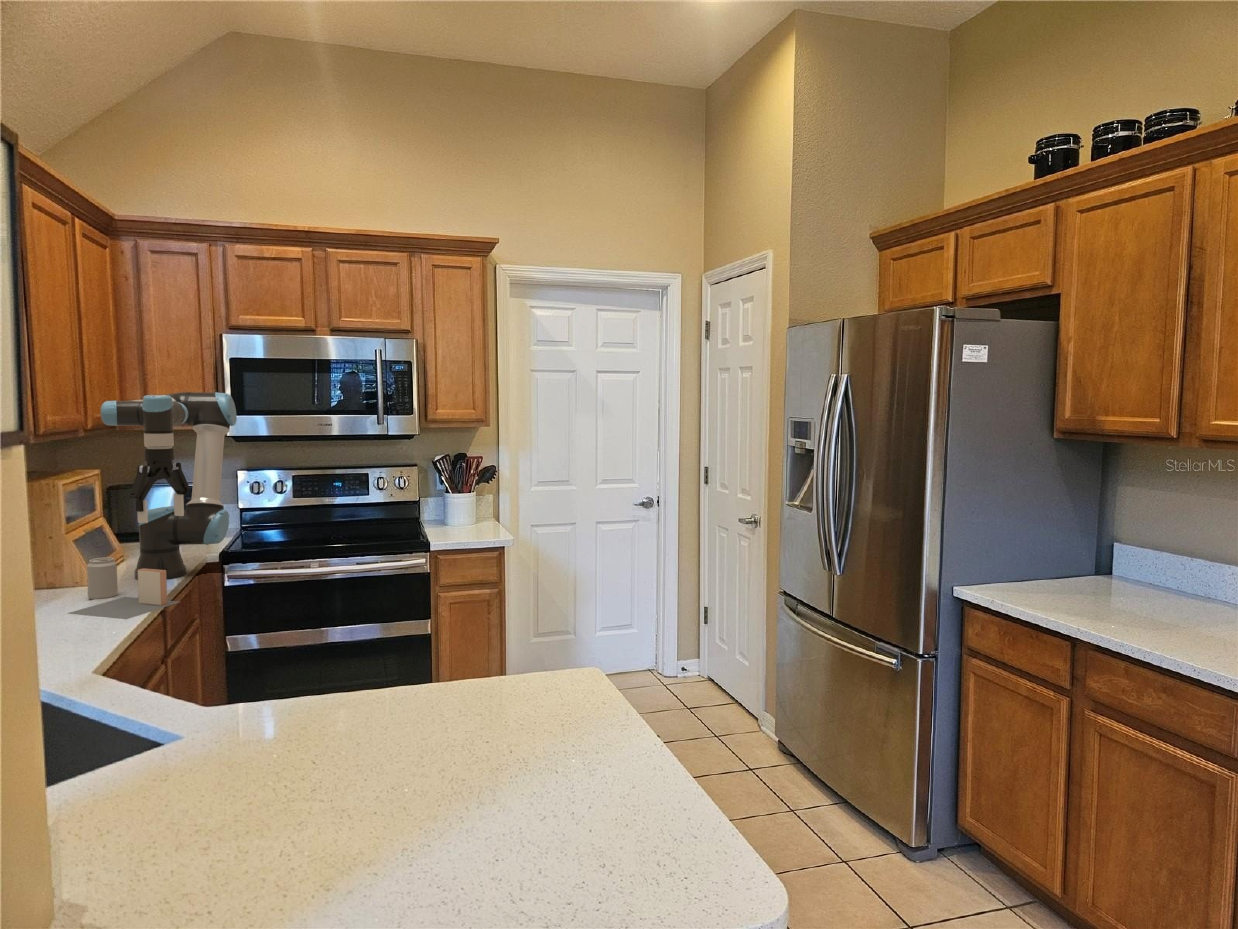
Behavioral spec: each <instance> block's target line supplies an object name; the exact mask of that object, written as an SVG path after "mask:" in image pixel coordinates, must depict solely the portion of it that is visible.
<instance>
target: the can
mask: <svg viewBox="0 0 1238 929" xmlns="http://www.w3.org/2000/svg"><path fill="white" fill-rule="evenodd" d="M88 562H89V563H88V564H87V565H86V580H87V597H88V598H89V599H90V600H92V601H94V600H100V599H109V598H113V597H116V596H117V595H118V594H119V590H118V567H117V566H118V564H117V562H116V561H115V558H114V557H110V556H109V557H107V556H106V557H96V558H91V559H89V560H88Z"/></svg>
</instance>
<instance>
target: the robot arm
mask: <svg viewBox="0 0 1238 929" xmlns="http://www.w3.org/2000/svg"><path fill="white" fill-rule="evenodd" d="M100 418H101V422H102V423H103V424H105V426H115V427H135V426H136V427H143V444H144V445H143V446H144V447H145V448H144V449H143V450H144V452H143V453H144V461H145V462H146V465H138V466H137V468H136V476H135V478H134V481H133V484H132V487H131V489H130V492H129V495H128V498H129V499H130V500H132V501H135V510H136V512H137V523H138V525H137V526H138V534H139V536H138V537H139V538H138V540H139V557H138V560H137V564H136V568H135V570H134V579H136V580H138V570H139V569H143V568H145V569H158V570H166V580H168V579H175V578H179V577H183V576H184V575H186V574H187V565H186V564H185V563H184V560H183V556H182V554H181V551H180V549H181V547H180V546H181V545H182V546H184V545H185V546H186V545H189V546H190V545H193V546H194V545H206V546H209V545H217V544H220V543H221V542H223V540H224V539H225V538H226V536H227V533H228V530H229V525H230V514H229V512H228V510H226V509H225V508H224V507H225V506H224V504H223V503H222V502H221V500H220V497H221V484H222V474H223V472H222V471H223V469H222V468H223V459H224V445H225V436H226V435H227V434H228V433H230V431H231V430H230V428H231V427H233V426H235V425H236V424H237V409H236V404H235V401H234V399H233V397H232V395H231V394H229V393H226V392H217V391H215V392H203V391H202V392H197V391H195V392H192V391H182V392H174V393H173V392H172V393H168V394H161V395H160V394H158V395H155V394H152V395H151V394H148V395H144V396H143V397H142V399H134V400H106V401H104V402H103V403H102V404H101V407H100ZM181 425H185V426H192V430H193V431H194V432H195V433H196V442H195V444H196V445H195V453H194V454H195V456H194V464H193V465H194V467H193V478H192V479H193V480H192V492H191V499H190V500H189V501H188V502H187V503H186V502H185V495H187V494H188V493H189V492H190V491H191V488H190V486H189V483H188V481H187V478H186V475H185V474H184V471H183V469H182V463H181V462H175V461H174V460H175V450H174V448H173V447H174V446H175V444H174V443H175V441H174V439H175V438H174V427H178V426H181ZM163 479H164V480H165V481H166V482H167V483H168V484H169V485H170V487H171V488H172V490H173V491H174V492H175V494H173V505H171V506H170V505H169V506H162V507H156V508H155V507H154V508H150V509H148V500H147V499H146V498H147V496H148V494H149V493H150V490H151V489H152V487H153V485H154V484H155V482H157V481H161V480H163ZM185 503H186V504H185Z"/></svg>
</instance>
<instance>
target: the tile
mask: <svg viewBox="0 0 1238 929" xmlns="http://www.w3.org/2000/svg"><path fill="white" fill-rule="evenodd" d="M167 582H168V581H167V579H166V570H158V569H145V568H143V569H139V570H138V579H137V587H138V588H137V590H138V591H137V592H138V595H137V596H138V598H139V603H140V604H150V605H161V606H162V605H165V604H167V601H168V590H167V589H168V586H167V585H168V584H167Z"/></svg>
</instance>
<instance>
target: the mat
mask: <svg viewBox="0 0 1238 929" xmlns="http://www.w3.org/2000/svg"><path fill="white" fill-rule="evenodd" d="M178 603H180V601H178V600H177V601H175V600H167V604H165V605H162V606H161V605H150V604H140V603H139V597H133V596H132V597H131V596H130V597H129V596H124V597H119V598H117V599H112V600H108V601H106V602H102V603H99V604H98V603H97V604H96V605H92V606H89V607H83V608H81V609H76V610H73V611H70V612H67V613H66V614H68V615H78V616H89V617H90V616H91V617H98V618H99V617H100V618H108V619H109V618H110V619H121V620H128V619H131V618H132V619H133V618H135V617H138V616H141V615H144V614H147V613H151V612H154V611H157V610H159V609H160V610H161V609H164V608H167V607H168V606H170V607H171V606H172V605H175V604H178Z"/></svg>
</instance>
